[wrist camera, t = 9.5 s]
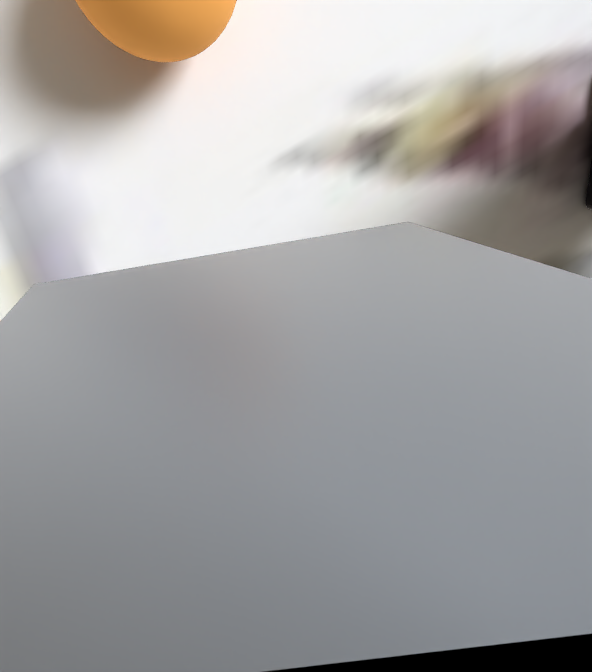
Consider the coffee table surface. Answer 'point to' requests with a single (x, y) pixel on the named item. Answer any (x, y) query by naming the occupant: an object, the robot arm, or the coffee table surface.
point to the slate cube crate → (300, 463)
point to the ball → (159, 25)
